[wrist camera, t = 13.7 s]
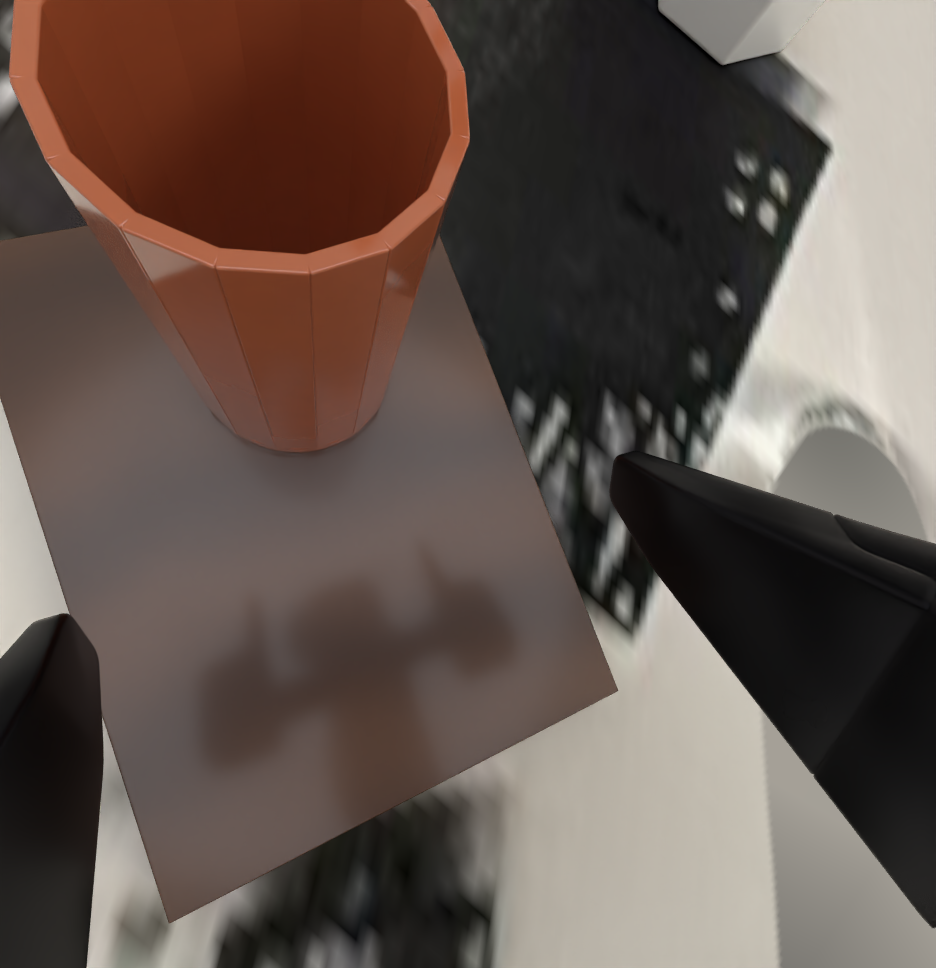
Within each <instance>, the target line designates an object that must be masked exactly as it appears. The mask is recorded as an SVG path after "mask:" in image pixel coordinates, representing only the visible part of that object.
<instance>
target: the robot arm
mask: <svg viewBox="0 0 936 968" xmlns="http://www.w3.org/2000/svg"><path fill="white" fill-rule="evenodd" d="M610 498H611V501H612V503H613V505H614V507H615V508H616V510H617V512H618V513H619V515H620V517H621V518H622V520H623V521H624V523H625V525H626V526H627V528H628V530H629V531H630V533H631V534H632V536H633V538H634V539H635V541H636V543H637V544H638V546H639V548H640V549H641V551H642V552H643V554H644V556H645V557H646V559H647V560H648V562H649V563H650V565H651V566H652V568H653V569H654V570H655V572H656V573H657V574H658V576H659V577H660V578H661V580H662V581H663V582H664V584H665V585H666V586H667V587H668V589H669V590H670V591H671V593H672V594H673V595H674V597H675V598H676V599H677V600H678V602H679V603H680V604H681V606H682V607H683V608H684V609H685V611H686V612H687V613H688V615H689V616H690V617H691V619H692V620H693V621H694V622H695V624H696V625H697V626H698V628H699V629H700V630H701V631H702V633H703V634H704V635H705V637H706V638H707V639H708V641H709V642H710V643H711V644H712V646H713V647H714V648H715V650H716V651H717V652H718V653H719V655H720V656H721V657H722V659H723V660H724V661H725V663H726V664H727V665H728V666H729V668H730V669H731V670H732V672H733V673H734V674H735V675H736V677H737V678H738V679H739V681H740V682H741V683H742V685H743V686H744V687H745V688H746V690H747V691H748V692H749V694H750V695H751V696H752V697H753V699H754V700H755V701H756V703H757V704H758V705H759V707H760V708H761V709H762V710H763V712H764V713H765V714H766V716H767V717H768V718H769V719H770V721H771V722H772V723H773V725H774V726H775V727H776V728H777V730H778V731H779V732H780V734H781V735H782V736H783V738H784V739H785V740H786V741H787V743H788V744H789V745H790V747H791V748H792V749H793V751H794V752H795V753H796V754H797V756H798V757H799V758H800V760H802V762H803V763H804V765H805V766H806V767H807V769H808V770H809V771H810V773H812V774H814V778H815V780H816V781H817V782H818V783H819V785H820V786H821V787H822V789H823V790H824V791H825V792H826V794H827V795H828V796H829V798H830V799H831V800H832V801H833V803H834V804H835V805H836V807H837V808H838V809H839V811H840V812H841V813H842V814H843V816H844V817H845V818H846V819H847V821H848V822H849V824H850V825H851V826H852V827H853V828H854V830H855V831H856V833H857V834H858V835H859V836H860V838H861V839H862V840H863V842H864V843H865V844H866V845H867V847H868V848H869V849H870V851H871V852H872V853H873V855H874V856H875V857H876V858H877V860H878V861H879V862H880V864H881V865H882V866H883V867H884V869H885V870H886V871H887V873H888V874H889V875H890V876H891V878H892V879H893V880H894V882H895V883H896V884H897V886H898V887H899V888H900V890H901V891H902V892H903V893H904V895H905V896H906V897H907V899H908V900H909V901H910V902H911V904H912V905H913V906H914V907H915V909H916V910H917V911H918V913H919V914H920V915H921V916H922V918H923V919H924V920H925V921H926V922H927V923H928V924H929V925H930V926H931V927H932V928H936V544H935V543H931V542H928V541H924V540H920V539H917V538H913V537H910V536H906V535H902V534H899V533H895V532H891V531H888V530H885V529H882V528H878V527H875V526H872V525H869V524H865V523H862V522H859V521H856V520H853V519H849V518H846V517H843V516H840V515H833V514H832V513H831V512H828V511H824V510H821V509H818V508H815V507H812V506H809V505H806V504H803V503H799V502H796V501H793V500H790V499H787V498H784V497H780V496H778V495H774V494H771V493H768V492H765V491H762V490H759V489H756V488H752V487H749V486H746V485H743V484H740V483H737V482H734V481H731V480H727V479H724V478H721V477H718V476H715V475H712V474H709V473H706V472H703V471H699V470H696V469H693V468H690V467H687V466H684V465H681V464H678V463H674V462H671V461H668V460H665V459H662V458H659V457H656V456H653V455H649V454H646V453H643V452H640V451H632V452H628V453H625V454H621V455H619V456H617V457H616V458H615V460H614V463H613V469H612V476H611V483H610ZM103 761H104V759H103V729H102V708H101V687H100V666H99V658H98V654H97V652H96V649H95V647H94V646H93V644H92V643H91V642H90V640H89V639H88V637H87V636H86V635H85V633H84V632H83V630H82V629H81V627H80V626H79V625H78V623H77V622H76V620H75V619H74V618H73V617H72V616H71V615H69V614H64V613H63V614H59V615H55V616H51V617H48V618H44V619H41V620H38V621H36V622H34V623H32V624H31V625H30V626H29V627H28V628H27V629H26V630H25V631H24V633H23V634H22V635H21V636H20V637H19V638H18V639H17V641H16V642H15V643H14V644H13V645H12V646H11V647H10V648H9V650H8V651H7V652H6V653H5V654H4V655H3V656H2V657H1V659H0V968H86V966H87V954H88V943H89V931H90V919H91V908H92V896H93V884H94V872H95V861H96V849H97V837H98V826H99V814H100V802H101V791H102V779H103Z"/></svg>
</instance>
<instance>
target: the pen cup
mask: <svg viewBox="0 0 936 968" xmlns="http://www.w3.org/2000/svg"><path fill="white" fill-rule="evenodd" d="M9 78H10V83H11V85H12V88H13V90H14V92H15V94H16V96H17V99H18V101H19V103H20V105H21V107H22V110H23V112H24V114H25V116H26V118H27V121H28V123H29V125H30V127H31V130H32V132H33V134H34V136H35V138H36V141H37V143H38V145H39V147H40V149H41V152H42V154H43V156H44V158H45V160H46V162H47V163H48V165H49V166H50V168H51V169H52V171H53V172H54V174H55V175H56V177H57V179H58V180H59V182H60V183H61V185H62V186H63V188H64V189H65V191H66V192H67V194H68V195H69V197H70V198H71V200H72V201H73V203H74V205H75V206H76V208H77V209H78V211H79V212H80V214H81V215H82V217H83V218H84V220H85V221H86V223H87V224H88V226H89V227H90V229H91V231H92V232H93V234H94V235H95V237H96V238H97V240H98V241H99V243H100V244H101V246H102V247H103V249H104V250H105V252H106V253H107V255H108V257H109V258H110V260H111V261H112V263H113V264H114V266H115V267H116V269H117V270H118V272H119V273H120V275H121V276H122V278H123V279H124V281H125V283H126V284H127V286H128V287H129V289H130V290H131V292H132V293H133V295H134V296H135V298H136V299H137V301H138V302H139V304H140V305H141V307H142V309H143V310H144V312H145V313H146V315H147V316H148V318H149V319H150V321H151V322H152V324H153V325H154V327H155V328H156V330H157V331H158V333H159V335H160V336H161V338H162V339H163V341H164V342H165V344H166V345H167V347H168V348H169V350H170V351H171V353H172V354H173V356H174V357H175V359H176V360H177V362H178V364H179V365H180V367H181V368H182V370H183V371H184V373H185V374H186V376H187V377H188V379H189V380H190V382H191V383H192V385H193V386H194V388H195V390H196V391H197V393H198V394H199V396H200V397H201V399H202V400H203V402H204V403H205V405H206V406H207V408H209V409H210V410H211V411H212V412H213V413H214V414H215V416H216V417H217V418H218V419H219V420H220V421H221V422H222V423H223V424H224V425H225V426H226V427H228V428H229V429H230V430H231V431H233V432H234V433H235V434H237V435H239V436H240V437H242V438H244V439H245V440H247V441H249V442H252V443H254V444H256V445H258V446H262V447H265V448H268V449H272V450H278V451H283V452H310V451H316V450H321V449H325V448H328V447H331V446H334V445H336V444H338V443H340V442H342V441H345V440H347V439H348V438H350V437H351V436H353V435H354V434H356V433H357V432H358V431H359V430H360V429H362V428H363V427H364V426H365V425H366V424H367V423H368V422H369V421H370V419H371V418H372V417H373V416H374V414H375V413H376V411H377V410H378V409H379V407H380V406H381V403H382V400H383V398H384V396H385V393H386V390H387V388H388V385H389V383H390V380H391V377H392V375H393V372H394V369H395V366H396V363H397V360H398V356H399V353H400V350H401V347H402V344H403V341H404V338H405V335H406V332H407V329H408V326H409V323H410V320H411V317H412V314H413V311H414V308H415V305H416V302H417V299H418V296H419V293H420V290H421V287H422V284H423V281H424V278H425V275H426V272H427V269H428V266H429V263H430V260H431V257H432V254H433V251H434V248H435V245H436V242H437V239H438V236H439V233H440V230H441V227H442V224H443V221H444V218H445V215H446V212H447V209H448V206H449V203H450V200H451V197H452V194H453V191H454V188H455V185H456V182H457V179H458V176H459V173H460V170H461V167H462V164H463V161H464V158H465V155H466V152H467V149H468V146H469V140H470V130H469V117H468V104H467V91H466V78H465V72H464V68H463V66H462V64H461V62H460V60H459V58H458V56H457V54H456V52H455V50H454V48H453V46H452V44H451V42H450V40H449V38H448V36H447V34H446V32H445V30H444V28H443V26H442V24H441V22H440V20H439V18H438V16H437V14H436V12H435V10H434V8H433V7H432V6H431V4H430V3H429V2H428V1H427V0H14V10H13V24H12V38H11V53H10V67H9Z"/></svg>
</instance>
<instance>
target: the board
mask: <svg viewBox="0 0 936 968" xmlns="http://www.w3.org/2000/svg"><path fill="white" fill-rule="evenodd" d="M0 399H1V402H2V405H3V408H4V411H5V414H6V417H7V420H8V423H9V427H10V430H11V433H12V436H13V439H14V442H15V445H16V448H17V452H18V455H19V458H20V461H21V464H22V467H23V470H24V473H25V476H26V480H27V483H28V486H29V489H30V492H31V495H32V498H33V501H34V504H35V508H36V511H37V514H38V517H39V520H40V523H41V526H42V529H43V532H44V536H45V539H46V542H47V545H48V548H49V551H50V554H51V557H52V561H53V564H54V567H55V570H56V573H57V576H58V579H59V582H60V585H61V589H62V592H63V595H64V598H65V601H66V604H67V607H68V610H69V613H70V615H71V616H72V617H73V618H74V619H75V620H76V622H77V623H78V625H79V626H80V627H81V629H82V630H83V632H84V633H85V635H86V636H87V637H88V639H89V640H90V642H91V643H92V644H93V646H94V647H95V649H96V652H97V654H98V658H99V666H100V687H101V708H102V716H103V719H104V722H105V726H106V729H107V732H108V735H109V738H110V741H111V744H112V747H113V750H114V754H115V757H116V760H117V763H118V766H119V769H120V772H121V775H122V779H123V782H124V785H125V788H126V791H127V794H128V797H129V800H130V803H131V807H132V810H133V813H134V816H135V819H136V822H137V825H138V828H139V831H140V835H141V838H142V841H143V844H144V847H145V850H146V853H147V856H148V860H149V863H150V866H151V869H152V872H153V875H154V878H155V881H156V884H157V888H158V891H159V894H160V897H161V900H162V903H163V906H164V909H165V912H166V916H167V919H168V922H169V923H172V922H174V921H175V920H177V919H179V918H181V917H183V916H185V915H187V914H189V913H191V912H193V911H195V910H197V909H199V908H201V907H202V906H204V905H206V904H208V903H210V902H212V901H214V900H216V899H218V898H220V897H222V896H224V895H226V894H227V893H229V892H231V891H233V890H235V889H237V888H239V887H241V886H243V885H245V884H247V883H249V882H251V881H253V880H254V879H256V878H258V877H260V876H262V875H264V874H266V873H268V872H270V871H272V870H274V869H276V868H278V867H280V866H281V865H283V864H285V863H287V862H289V861H291V860H293V859H295V858H297V857H299V856H301V855H303V854H305V853H307V852H308V851H310V850H312V849H314V848H316V847H318V846H320V845H322V844H324V843H326V842H328V841H330V840H332V839H334V838H335V837H337V836H339V835H341V834H343V833H345V832H347V831H349V830H351V829H353V828H355V827H357V826H359V825H361V824H362V823H364V822H366V821H368V820H370V819H372V818H374V817H376V816H378V815H380V814H382V813H384V812H386V811H387V810H389V809H391V808H393V807H395V806H397V805H399V804H401V803H403V802H405V801H407V800H409V799H411V798H413V797H414V796H416V795H418V794H420V793H422V792H424V791H426V790H428V789H430V788H432V787H434V786H436V785H438V784H440V783H441V782H443V781H445V780H447V779H449V778H451V777H453V776H455V775H457V774H459V773H461V772H463V771H465V770H467V769H468V768H470V767H472V766H474V765H476V764H478V763H480V762H482V761H484V760H486V759H488V758H490V757H492V756H494V755H495V754H497V753H499V752H501V751H503V750H505V749H507V748H509V747H511V746H513V745H515V744H517V743H519V742H521V741H522V740H524V739H526V738H528V737H530V736H532V735H534V734H536V733H538V732H540V731H542V730H544V729H546V728H547V727H549V726H551V725H553V724H555V723H557V722H559V721H561V720H563V719H565V718H567V717H569V716H571V715H573V714H574V713H576V712H578V711H580V710H582V709H584V708H586V707H588V706H590V705H592V704H594V703H596V702H598V701H600V700H601V699H603V698H605V697H607V696H609V695H611V694H613V693H615V692H617V691H618V689H617V686H616V684H615V681H614V679H613V676H612V674H611V671H610V669H609V666H608V663H607V661H606V658H605V656H604V653H603V651H602V648H601V646H600V643H599V640H598V638H597V635H596V633H595V630H594V628H593V625H592V623H591V620H590V618H589V615H588V612H587V610H586V607H585V605H584V602H583V600H582V597H581V595H580V592H579V590H578V587H577V584H576V582H575V579H574V577H573V574H572V572H571V569H570V567H569V564H568V561H567V559H566V556H565V554H564V551H563V549H562V546H561V544H560V541H559V539H558V536H557V533H556V531H555V528H554V526H553V523H552V521H551V518H550V516H549V513H548V511H547V508H546V505H545V503H544V500H543V498H542V495H541V493H540V490H539V488H538V485H537V482H536V480H535V477H534V475H533V472H532V470H531V467H530V465H529V462H528V460H527V457H526V454H525V452H524V449H523V447H522V444H521V442H520V439H519V437H518V434H517V431H516V429H515V426H514V424H513V421H512V419H511V416H510V414H509V411H508V409H507V406H506V403H505V401H504V398H503V396H502V393H501V391H500V388H499V386H498V383H497V381H496V378H495V375H494V373H493V370H492V368H491V365H490V363H489V360H488V358H487V355H486V352H485V350H484V347H483V345H482V342H481V340H480V337H479V335H478V332H477V330H476V327H475V324H474V322H473V319H472V317H471V314H470V312H469V309H468V307H467V304H466V302H465V299H464V296H463V294H462V291H461V289H460V286H459V284H458V281H457V279H456V276H455V273H454V271H453V268H452V266H451V263H450V261H449V258H448V256H447V253H446V251H445V248H444V245H443V243H442V240H441V238H440V235H439V236H438V239H437V242H436V245H435V248H434V251H433V254H432V257H431V260H430V263H429V266H428V269H427V272H426V275H425V278H424V281H423V284H422V287H421V290H420V293H419V296H418V299H417V302H416V305H415V308H414V311H413V314H412V317H411V320H410V323H409V326H408V329H407V332H406V335H405V338H404V341H403V344H402V347H401V350H400V353H399V356H398V360H397V363H396V366H395V369H394V372H393V375H392V377H391V380H390V383H389V385H388V388H387V390H386V393H385V396H384V398H383V400H382V403H381V406H380V407H379V409H378V410H377V411H376V413H375V414H374V416H373V417H372V418H371V419H370V421H369V422H368V423H367V424H366V425H365V426H364V427H363V428H362V429H360V430H359V431H358V432H357V433H356V434H354V435H353V436H351V437H350V438H348V439H347V440H345V441H342V442H340V443H338V444H336V445H334V446H331V447H328V448H325V449H321V450H316V451H310V452H283V451H278V450H272V449H268V448H265V447H262V446H258V445H256V444H254V443H252V442H249V441H247V440H245V439H244V438H242V437H240V436H239V435H237V434H235V433H234V432H233V431H231V430H230V429H229V428H228V427H226V426H225V425H224V424H223V423H222V422H221V421H220V420H219V419H218V418H217V417H216V416H215V414H214V413H213V412H212V411H211V410H210V409H209V408H207V406H206V405H205V403H204V402H203V400H202V399H201V397H200V396H199V394H198V393H197V391H196V390H195V388H194V386H193V385H192V383H191V382H190V380H189V379H188V377H187V376H186V374H185V373H184V371H183V370H182V368H181V367H180V365H179V364H178V362H177V360H176V359H175V357H174V356H173V354H172V353H171V351H170V350H169V348H168V347H167V345H166V344H165V342H164V341H163V339H162V338H161V336H160V335H159V333H158V331H157V330H156V328H155V327H154V325H153V324H152V322H151V321H150V319H149V318H148V316H147V315H146V313H145V312H144V310H143V309H142V307H141V305H140V304H139V302H138V301H137V299H136V298H135V296H134V295H133V293H132V292H131V290H130V289H129V287H128V286H127V284H126V283H125V281H124V279H123V278H122V276H121V275H120V273H119V272H118V270H117V269H116V267H115V266H114V264H113V263H112V261H111V260H110V258H109V257H108V255H107V253H106V252H105V250H104V249H103V247H102V246H101V244H100V243H99V241H98V240H97V238H96V237H95V235H94V234H93V232H92V231H91V229H90V227H89V226H82V227H77V228H71V229H65V230H59V231H54V232H48V233H42V234H36V235H31V236H25V237H19V238H13V239H8V240H2V241H0Z"/></svg>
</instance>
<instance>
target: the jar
mask: <svg viewBox="0 0 936 968" xmlns="http://www.w3.org/2000/svg"><path fill="white" fill-rule="evenodd" d="M824 1H825V0H658V9H659V11H660V12H661V13H662V14H663V15H664V16H665V17H667V18H668V19H669V20H670V21H671V22H672V23H674V24H675V25H676V26H677V27H678V28H679V29H680V30H682V31H683V32H684V33H685V34H686V35H687V36H688V37H690V38H691V39H692V40H693V41H694V42H695V43H696V44H698V45H699V46H700V47H701V48H702V49H703V50H705V51H706V52H707V53H708V54H709V55H710V56H711V57H712V58H714V59H715V60H716V61H717V62H718V63H719V64H721V65H726V64H730V63H734V62H738V61H742V60H746V59H751V58H755V57H759V56H763V55H767V54H772V53H776V52H780V51H782V50H783V49H784V48H785V47H786V46H787V44H788V43H789V42H790V41H791V40H792V39H793V37H794V36H795V35H796V34H797V33H798V32H799V30H800V29H801V28H802V27H803V26H804V25H805V23H806V22H807V21H808V20H809V19H810V18H811V16H812V15H813V14H814V13H815V12H816V11H817V10H818V8H819V7H820V6H821V5H822V4H823V3H824Z"/></svg>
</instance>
